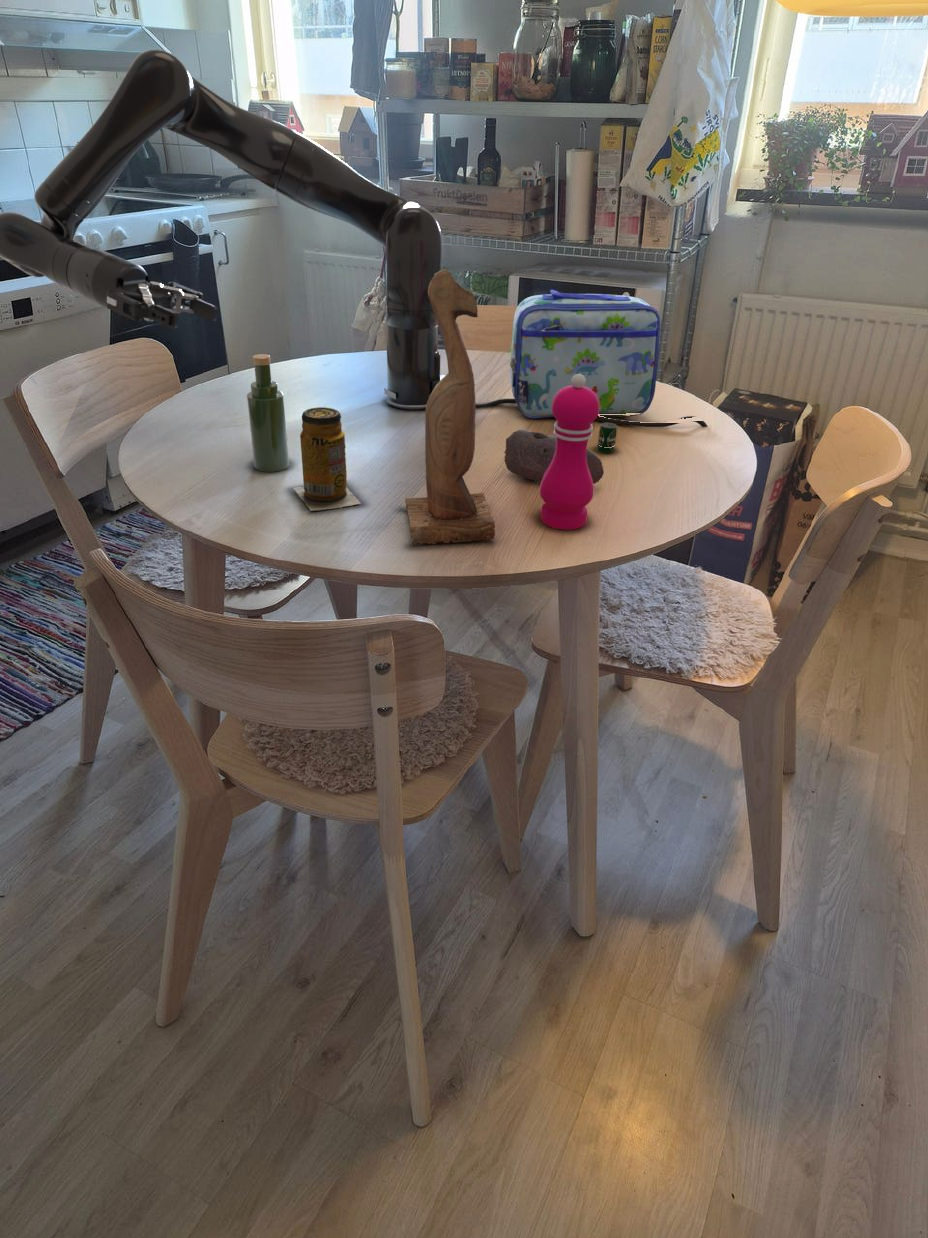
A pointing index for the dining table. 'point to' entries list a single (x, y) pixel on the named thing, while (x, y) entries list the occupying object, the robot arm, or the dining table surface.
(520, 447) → the perforated stone tool
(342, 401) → the dining table surface
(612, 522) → the dining table surface
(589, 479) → the pepper mill
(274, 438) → the oil bottle
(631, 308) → the lunch box
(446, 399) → the bird sculpture
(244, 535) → the dining table surface
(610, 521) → the dining table surface
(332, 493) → the condiment
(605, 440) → the beer can
